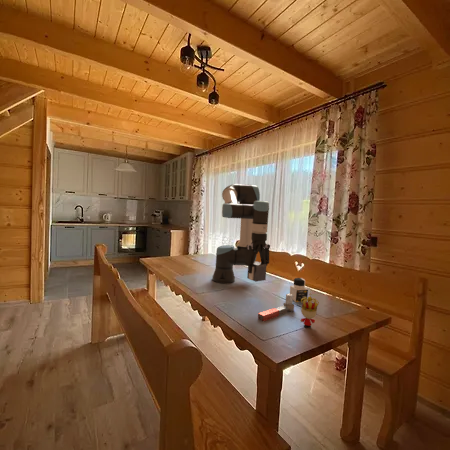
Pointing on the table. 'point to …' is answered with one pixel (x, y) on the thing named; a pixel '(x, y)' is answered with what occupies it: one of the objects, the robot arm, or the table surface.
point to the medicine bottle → (298, 290)
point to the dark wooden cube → (259, 271)
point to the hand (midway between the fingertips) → (256, 278)
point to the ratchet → (278, 309)
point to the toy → (308, 310)
